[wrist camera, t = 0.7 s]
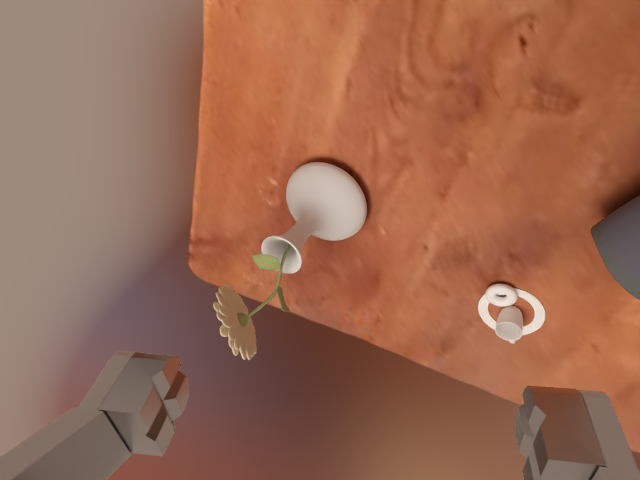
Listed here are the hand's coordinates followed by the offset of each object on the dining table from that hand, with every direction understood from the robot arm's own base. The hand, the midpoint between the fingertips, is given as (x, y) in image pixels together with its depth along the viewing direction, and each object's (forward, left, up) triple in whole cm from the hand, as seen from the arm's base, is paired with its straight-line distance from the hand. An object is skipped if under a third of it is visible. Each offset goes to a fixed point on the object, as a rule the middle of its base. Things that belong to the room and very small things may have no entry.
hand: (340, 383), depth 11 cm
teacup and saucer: (+31, +6, -42) cm, 52 cm away
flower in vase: (+21, -20, -41) cm, 50 cm away
